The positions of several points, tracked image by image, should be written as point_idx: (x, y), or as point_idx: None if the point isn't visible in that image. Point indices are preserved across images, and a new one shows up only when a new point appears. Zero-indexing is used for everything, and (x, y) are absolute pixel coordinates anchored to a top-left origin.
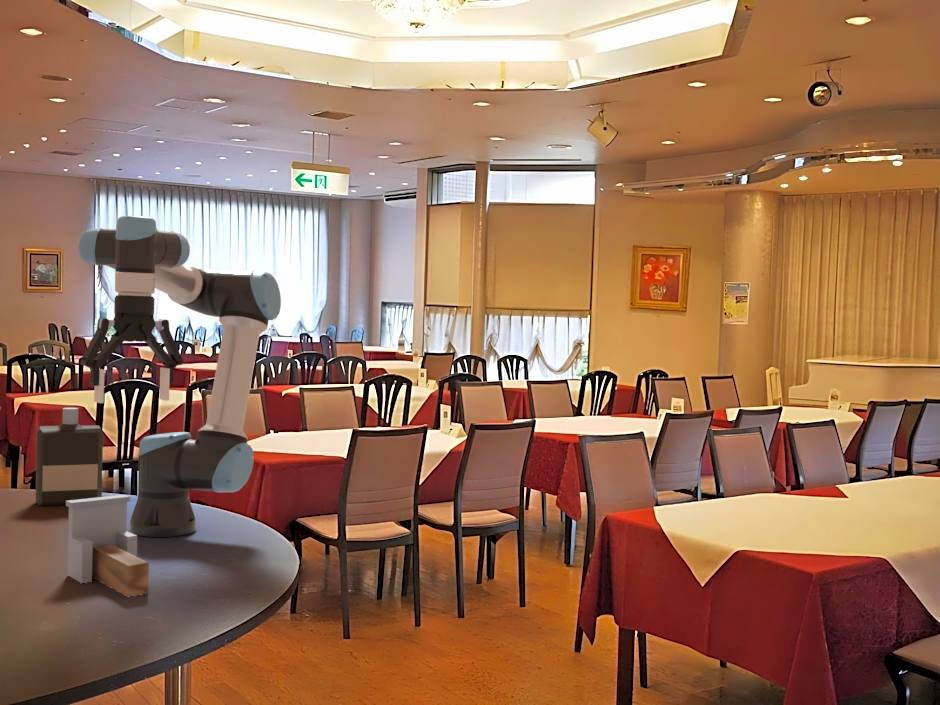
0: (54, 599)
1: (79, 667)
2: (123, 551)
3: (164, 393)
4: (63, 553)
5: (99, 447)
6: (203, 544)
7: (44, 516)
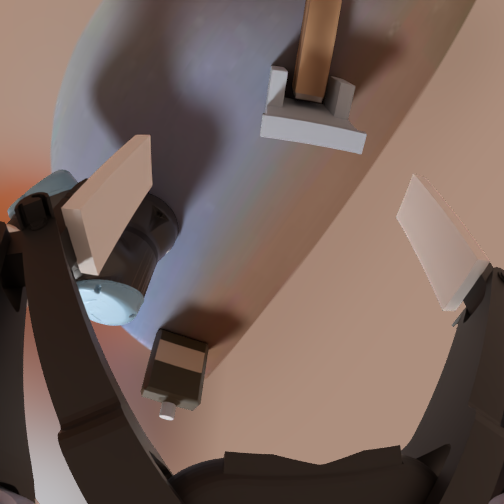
0: (393, 54)
1: None
2: (305, 53)
3: (140, 156)
4: (280, 202)
5: (149, 373)
6: None
7: (219, 320)
